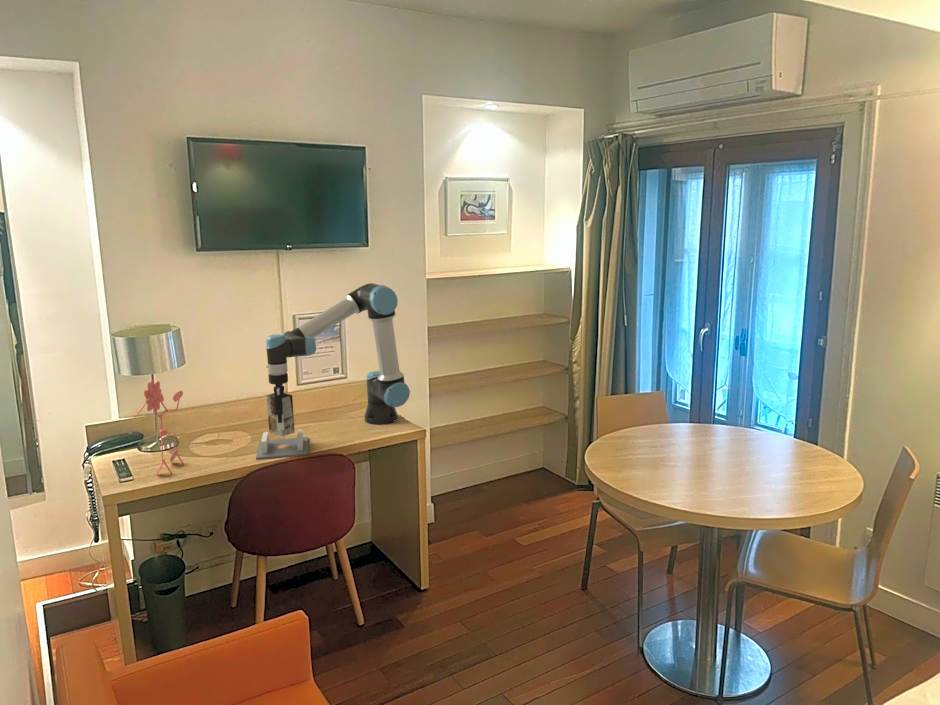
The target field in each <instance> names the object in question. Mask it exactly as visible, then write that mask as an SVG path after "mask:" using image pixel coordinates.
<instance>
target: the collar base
mask: <svg viewBox="0 0 940 705" xmlns="http://www.w3.org/2000/svg"><path fill="white" fill-rule="evenodd" d="M303 430H304V429H300V428H299V429H297V433H296V434H297V435H296V437H292V438H290V437H289V438H288V437H287V438H280V439H279V438H278V439H270V438H269V436H270V435H269V432H268V431H263V433H262V436H261V440H259V444H258V446H257V453H256V456H255V460H266V459H278V458H289V457H299V456H300V457H301V456H308V455H309V436H304V431H303Z"/></svg>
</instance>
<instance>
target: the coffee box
mask: <svg viewBox="0 0 940 705" xmlns="http://www.w3.org/2000/svg"><path fill="white" fill-rule="evenodd" d="M283 395H284V397H283V398H282V406H283V417H284V430H277V419H276V415H274V413H276V401H275V394H274V392H273V393H270V394H267V395H266V405H267V406H266V407H267V418H268V420H267V422H268V429H269V430H268V431H269V432H268V433H269V434H274V435H277V436H281V437H285V436H288V435H291V434H295V419H294V402H293V395H292V394H290V393H285V392H284V393H283ZM278 412H280V411H278Z"/></svg>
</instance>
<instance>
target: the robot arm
mask: <svg viewBox="0 0 940 705" xmlns="http://www.w3.org/2000/svg"><path fill="white" fill-rule="evenodd" d="M396 294H397V293H396V292H395V291H394V290H393V289H392V288H391V287H388V286H387V285H384V284H382V285H381V284H377V283H372V282H371V283H366V284H363V285H361V286H360V287H357V288H356V289H354V290H353V291H351V292H349V293H348V294H346V295H345V298H344V299H342V300H340V301H339V302H338V303H336V304H334V305H333V306H330V307H329V308H327V309H325V310H324V311H323V312H321V313H319V314H317V315H316V316H314V317H313V318H310V319H309V320H307V321H306V322H304V323H302V324H301V325H299V326H298V327H296V328H294V329H292V330H291V331H290V330H289V331H287V330H286V331H283V333H282V334H270V335H268V336H267V337H266V341H265V343H266V344H265V346H266V347H265V348H266V349H265V350H266V357H267V365H266V369H267V370H268V371H267V372H268V375H267V376H268V383H269V384H270V385H274V386H273V393H274V394H275V401H276V413H274V415H276V419H277V430H284V417H283V406H282V398H283V397H284V395H283V393H285V386H284V384H287V383H288V382H289V374H288V370H289V369H288V358H296V357H306V356H310V355H311V356H312V355H314V354H315V353H316V351H317V344H316V339H315V338H316V337H318V336H320V335H322V334H324V333H325V332H326V331H328V330H329V329H331V328H333V327H335V326H336V325H337V324H340V323H341V322H343V321H344V320H346V319H347V318H349V317H351V316H352V315H354V314H357V315H358V314H361V313H362V312H364V311H367V317H368V319H369V320H370V321H371V322H372V325H373V333H374V340H375V346H376V353H377V361H378V367H379V370H374V371H370V372H368V373H367V374H366V390H367V392H366V393H367V405H366V410H365V413H364V422H365V423H368V424H371V425H385V424H384V423H387V424H390V423H389V422H391V423H393V422H392V421H394V420H396V419H397V420H398V411H397V409H396V408H398V407H399V408H400V407H402V406H404V405H405V404H406V402H407V401H408V400H409V398H410V393H411V390H410V387H409V386H408V385H407V383H405V382H406V381H405V377H404V373H403V372H402V371H400V364H399V359H398V358H399V357H398V350H397V349H398V348H397V341H396V334H395V328H394V322H393V319H394V318H395V316H396V308H397V307H398V296H397V295H396ZM278 411H280V412H278ZM397 420H396V421H397ZM394 422H395V421H394Z"/></svg>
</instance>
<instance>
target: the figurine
mask: <svg viewBox="0 0 940 705" xmlns="http://www.w3.org/2000/svg"><path fill="white" fill-rule="evenodd" d="M143 395H144V398H145V402H144V403H143V404H142V406H141V407H140V408H139V410H138V411H137V412H136V414H135V415H134V418H136V417H137V416H138V415H139V414H140V413H141V412H142V410H143V409H144V408H145V406H147V408H146V410H147V411H148V412H151V411H153V414H156V415H157V417H158V418H159V420H160V430H159V432H158V434H159V435H160V440H161V462H160V464H159V466H158V469H157V470H156V472H155V473H156V474H157V475H158V474H159V473H160V470H161V469H162V467H163V465H165V466H166V468H167V470H168V471H169V473H170V474H171V473H172V474H173V471H172V470H171V469H170V467H169V466H168V464H167V463H166V461H165V459H166V458H165V457H164V446H163V445H164V444H163V442H164V441H163V437H165V436H167V434H169V435H173V440H174V441H173V443H174V451H173V453H172V455H171V456H170V458H169V461H170V462H171V463H173V461H174V460H175V459H176V458H178V459H179V461H180V462H181V464H182V465H185V463H184V461H183V460H182V457H181V456H180V455H179V449H176V433H172V432H168V431H167V430H166V429H165V428H163V418H162V417H163V416H164V415H165V414H166V413H168V412H175V411H178V410H179V409H178V408H179V405H180V400H181V398H182V397H183V395H184V392H183V390H179V391H177V392H176V393H175V394H174V395H173V396H172V400H173V401H174V403H176V402H177V403H176V408H175V409H173V408H172V409H168V408H167V407H166V406H165V404H164V400H165V398H164V395H163V393H162V388H161V382H160V381H159V380H157V381H155V380H153V379H151V380H150V382H147V390H144V391H143ZM161 405H162V406H163V408H164V410H163V412H161V414H159V412H158V411H159V410H160V409H161Z"/></svg>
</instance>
